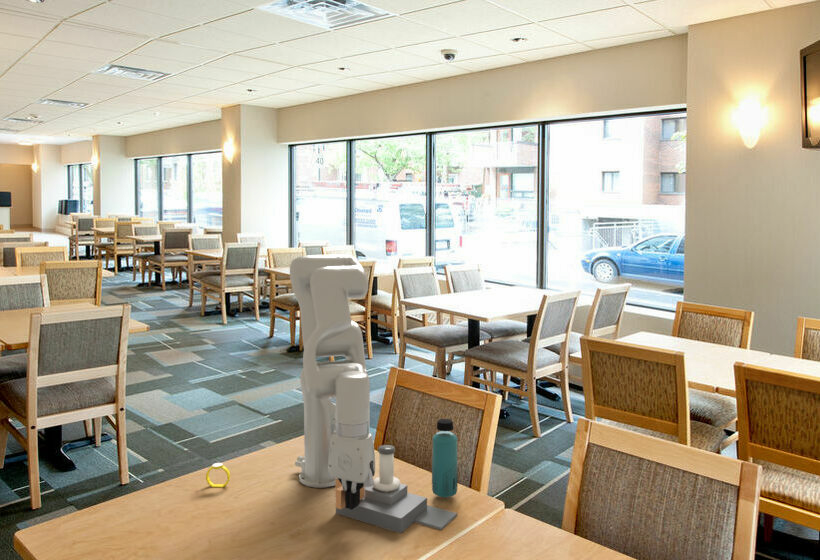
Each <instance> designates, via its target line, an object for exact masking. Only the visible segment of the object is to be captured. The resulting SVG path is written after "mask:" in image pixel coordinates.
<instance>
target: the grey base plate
mask: <svg viewBox="0 0 820 560" xmlns="http://www.w3.org/2000/svg"><path fill="white" fill-rule="evenodd" d="M427 505H428V497H427V496H421V495H418V494H414V493H410V492H408V484H404V483H401V482H400V486H399V488H398V489H396V490H393V492H391V493H390V494H389V493H385V492H382V491H379V490H377V489H375V488H374V487H373V485H372V486H370V487H365V497H364V498H363V499H361V500H360V503H359V505H358V506H357V507H355V508H354V509H352V510H351V509H349V508H346V507H344V508H343V509H338V508H336V507H335V514H336V515H340V516H343V517H347V518H350V519H353V520H356V521H360V522H363V523H366V524H369V525H372V526H377V527H379V528H382V529H386V530H389V531H391V532H396V533H399V534H402V533H403V532H404V531H406V530H407V529H408V528H410V527H411V526H412V525H413V524H414V523H415V522H414V520H415V519H416V518H417V517H418V516H420V515H421V514H422V513H423V512H424V511H426V510H427Z"/></svg>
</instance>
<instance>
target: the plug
mask: <svg viewBox="0 0 820 560" xmlns="http://www.w3.org/2000/svg"><path fill="white" fill-rule="evenodd" d="M377 451H378V455H379V460H378V462H379V463H378V465H379V466H378V467H379V468H378V469H379V473H378V474H379V475H378V477H375V478H373V481H374V484H373V487H374V488H375V489H377V490H379V491H382V492H385V493H389V494H390V493H391V492H393V490H396V489H398V488H399V486H400V483H401V480H400V479H399V478H398V477H396V476H394V475H395V474H394V467H395V466H394V461H395V460H394V459H395V458H394V455H395V454H394V453H396V448H395V446H394V445H390V444H383V445H379V446H378V447H377Z"/></svg>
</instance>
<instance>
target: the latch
mask: <svg viewBox="0 0 820 560" xmlns="http://www.w3.org/2000/svg"><path fill="white" fill-rule="evenodd" d="M334 487H335V490H334V493H335V509H336V508H338V509H343V508H344V507H345V491H344V490H343V488H342V484H341V483H340V481H339V480H338V479H335V486H334ZM364 497H365V487H362V488H361V489H360V500H361V499H363V498H364Z"/></svg>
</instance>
